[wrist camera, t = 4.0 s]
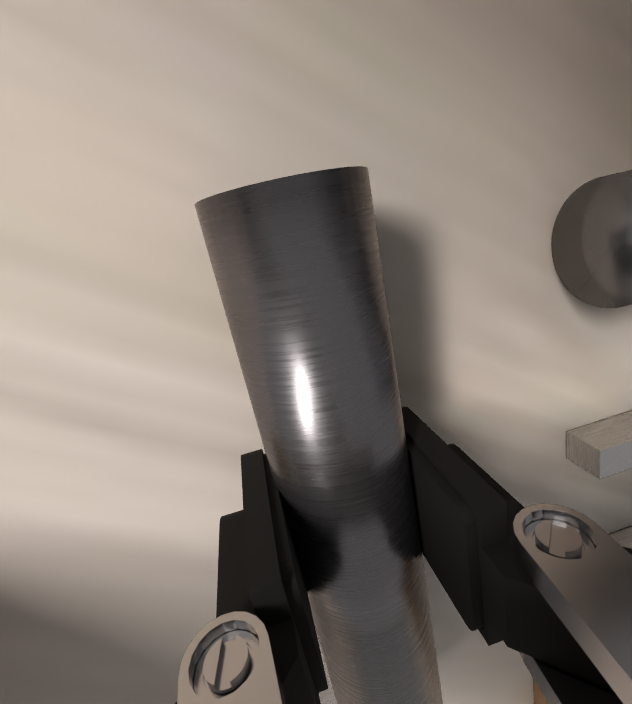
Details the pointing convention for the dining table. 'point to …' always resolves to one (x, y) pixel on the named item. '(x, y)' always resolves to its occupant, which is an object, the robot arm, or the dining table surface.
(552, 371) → the dining table surface
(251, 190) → the roller
